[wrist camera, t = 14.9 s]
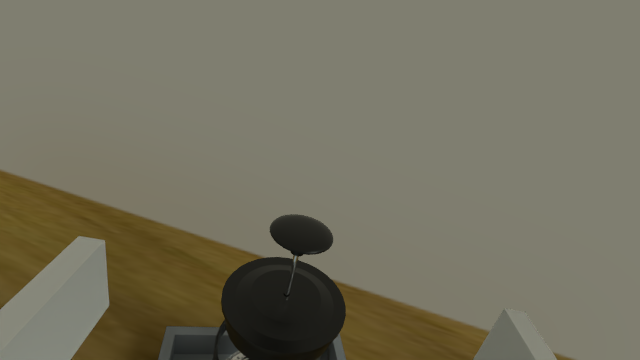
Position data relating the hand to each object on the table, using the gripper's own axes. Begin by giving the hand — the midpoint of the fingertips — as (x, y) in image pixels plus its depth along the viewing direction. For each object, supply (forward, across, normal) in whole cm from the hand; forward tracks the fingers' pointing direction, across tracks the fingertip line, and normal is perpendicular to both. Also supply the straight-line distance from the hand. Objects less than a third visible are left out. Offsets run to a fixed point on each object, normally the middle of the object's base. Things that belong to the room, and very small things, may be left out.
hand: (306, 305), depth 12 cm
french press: (+10, 0, -27) cm, 29 cm away
